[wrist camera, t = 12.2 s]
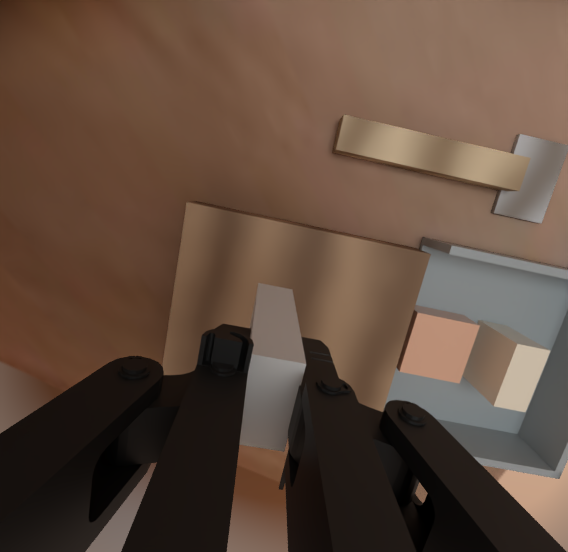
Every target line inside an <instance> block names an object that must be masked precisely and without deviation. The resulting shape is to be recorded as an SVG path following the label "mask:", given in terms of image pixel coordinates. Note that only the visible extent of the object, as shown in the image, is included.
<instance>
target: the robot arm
mask: <svg viewBox="0 0 568 552" xmlns="http://www.w3.org/2000/svg"><path fill="white" fill-rule="evenodd" d="M287 438H288V441H289V450H288V454H287V458H286V461H285V465H284V469H283V473H282V477H281V481H280V486H279V489H281V490H282V489H283V487H284V483H285V485H286V509H287V533H288V552H566V551H565V550H564V549H563V548H562V547H561V546H560V544H558V543H557V542H556V540H554V539H553V537H552V536H551V535H550V534H549V533H548V532H547V531H546V530H545V529H544V528H543V527H542V526H541V525H540V524H539V523H538V522H537V521H536V520H535V519H534V518H533V517H532V516H531V515H530V514H529V513H528V512H527V511H526V510H525V509H524V508H523V507H522V506H521V505H520V504H519V503H518V502H517V501H516V500H515V499H514V498H513V497H512V496H511V495H510V494H509V493H508V492H507V491H506V490H505V489H504V488H503V487H502V486H501V485H500V484H499V483H498V482H497V481H496V480H495V478H494V477H493V476H492V475H491V474H490V473H489V472H488V471H487V470H486V469H485V468H484V467H483V466H482V465H481V464H480V463H479V462H478V461H477V460H476V459H475V458H474V457H473V456H472V455H471V454H470V453H469V452H468V451H467V450H466V449H465V448H464V447H463V446H462V445H461V444H460V443H459V442H458V441H457V440H456V439H455V438H454V437H453V436H452V435H451V434H450V433H449V432H448V431H447V430H446V429H445V428H444V427H443V426H442V425H441V424H440V423H439V422H438V421H437V420H436V419H435V418H434V417H433V416H432V415H431V414H430V413H429V412H427V411H426V410H425V409H423V408H421V407H419V406H418V405H417V404H415V403H411V402H409V401H402V400H391V401H389V402H388V403H386V404H385V408H384V411H383V412H381V411H378V410H376V409H373V408H370V407H367V406H365V405H363V404H360V403H359V402H358V400H357V397H356V395H355V392H354V390H353V389H352V387H351V386H350V385H349V384H347V383H346V382H345V381H343V380H341V379H339V377H338V374H337V371H336V368H335V365H334V363H333V360H332V357H331V354H330V351H329V348H328V347H327V346H326V345H325V344H324V343H323V342H322V341H321V340H316V339H311V338H305V337H301V333H300V328H299V322H298V317H297V312H296V306H295V301H294V296H293V291H292V289H287V288H282V287H277V286H272V285H267V284H262V283H258V288H257V293H256V298H255V302H254V307H253V312H252V317H251V322H250V327H249V328H245V327H240V326H234V325H229V324H221V325H220V326H218V327H216V328H215V329H211V330H208V331H206V332H205V333H203V334H202V337H201V343H200V349H199V355H198V361H197V365H196V368H195V370H194V371H192V372H189V373H185V374H180V375H164V371H163V367H162V366H161V365H160V364H159V363H158V362H156V361H154V360H152V359H150V358H145V357H141V356H136V357H135V356H128V357H124V358H119V359H116V360H114V361H112V362H109V363H108V364H106V365H105V366H103V367H102V368H100V369H99V370H97V371H96V372H94V373H92V374H91V375H89V376H88V377H86V378H85V379H83V380H82V381H80V382H79V383H77V384H76V385H74V386H73V387H71V388H69V389H68V390H66V391H65V392H63V393H62V394H60V395H59V396H57V397H56V398H54V399H53V400H51V401H50V402H48V403H47V404H45V405H43V406H42V407H41V408H39V409H37V410H36V411H34V412H33V413H31V414H30V415H28V416H27V417H25V418H24V419H22V420H20V421H19V422H17V423H16V424H14V425H13V426H11V427H10V428H8V429H7V430H5V431H4V432H2V433H1V434H0V552H85V551H86V550H87V549H88V547H89V546H90V544H91V543H92V542H93V541H94V540H95V538H96V537H97V536H98V535H99V533H100V532H101V531H102V529H103V528H104V526H105V525H106V524H107V523H108V522H109V520H110V519H111V518H112V516H113V515H114V514H115V513H116V511H117V510H118V509H119V507H120V506H121V505H122V504H123V502H124V501H125V500H126V498H127V497H128V496H129V494H130V493H131V492H132V491H133V489H134V488H135V487H136V486H137V484H138V483H139V482H140V480H141V479H142V478H143V477H144V475H145V474H146V473H147V471H148V469H149V467H150V465H151V463H156V462H157V464H156V467H155V469H154V472H153V474H152V477H151V479H150V482H149V484H148V487H147V489H146V492H145V494H144V497H143V499H142V502H141V504H140V507H139V509H138V511H137V514H136V516H135V519H134V522H133V524H132V526H131V529H130V531H129V534H128V536H127V539H126V541H125V544H124V546H123V549H122V551H121V552H226V551H227V543H228V535H229V526H230V518H231V509H232V502H233V493H234V485H235V477H236V468H237V460H238V452H239V445H246V446H252V447H258V448H265V449H271V450H278V451H284V450H285V446H286V442H287ZM419 482H420V483H421V485H422V486H423V487H424V489H425V490H426V491H427V493H428V494H427V497H426V499H425V502H424V503H422V502H421V501H420V500H419V499H418V497H417V496H416V494H415V492H416V489H417V486H418V484H419Z"/></svg>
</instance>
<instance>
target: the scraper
mask: <svg viewBox="0 0 568 552" xmlns="http://www.w3.org/2000/svg"><path fill="white" fill-rule="evenodd" d="M567 152H568V145H565V144H560V143H556V142H552V141H548V140H544V139H539V138H535V137H531V136H527V135H522V134H518V135H516V138H515V141H514V144H513V148H512V151H511V153H507V152H503V151H499V150H494V149H490V148H486V147H482V146H477V145H473V144H469V143H464V142H460V141H456V140H452V139H447V138H443V137H439V136H434V135H430V134H426V133H422V132H417V131H413V130H409V129H404V128H400V127H396V126H391V125H387V124H383V123H379V122H374V121H370V120H366V119H361V118H357V117H353V116H349V115H343V117H342V118H341V119H340V122H339V126H338V130H337V135H336V139H335V143H334V148H333V152H332V153H337V154H341V155H345V156H350V157H354V158H359V159H363V160H367V161H372V162H376V163H381V164H385V165H390V166H394V167H398V168H403V169H407V170H412V171H416V172H420V173H425V174H429V175H434V176H438V177H443V178H447V179H451V180H456V181H460V182H465V183H469V184H473V185H478V186H482V187H487V188H491V189H496V190H498V193H497V196H496V199H495V202H494V205H493V208H492V211H491V213H494V214H499V215H503V216H508V217H512V218H517V219H521V220H526V221H530V222H535V223H542V220H543V218H544V215H545V212H546V209H547V207H548V204H549V201H550V198H551V196H552V193H553V190H554V187H555V185H556V182H557V179H558V176H559V174H560V171H561V168H562V165H563V163H564V160H565V157H566V154H567Z"/></svg>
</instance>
